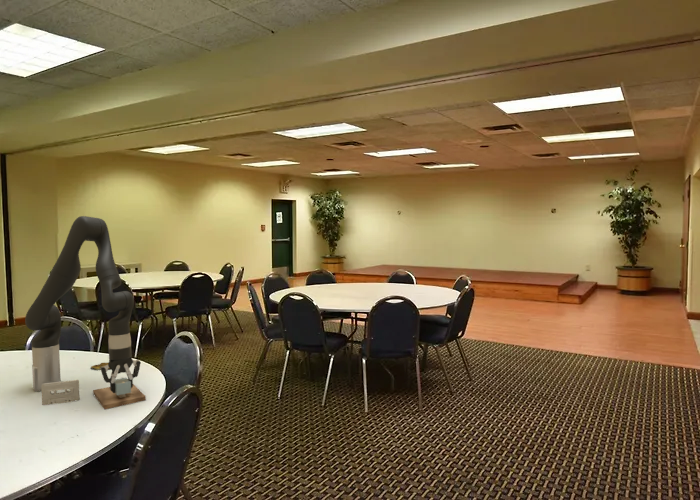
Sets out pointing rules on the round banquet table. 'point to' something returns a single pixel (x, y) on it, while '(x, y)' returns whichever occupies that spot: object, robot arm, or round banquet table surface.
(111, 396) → the board
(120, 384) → the grey-green box
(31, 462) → the round banquet table surface
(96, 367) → the gold looped flat piece
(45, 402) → the cassette
